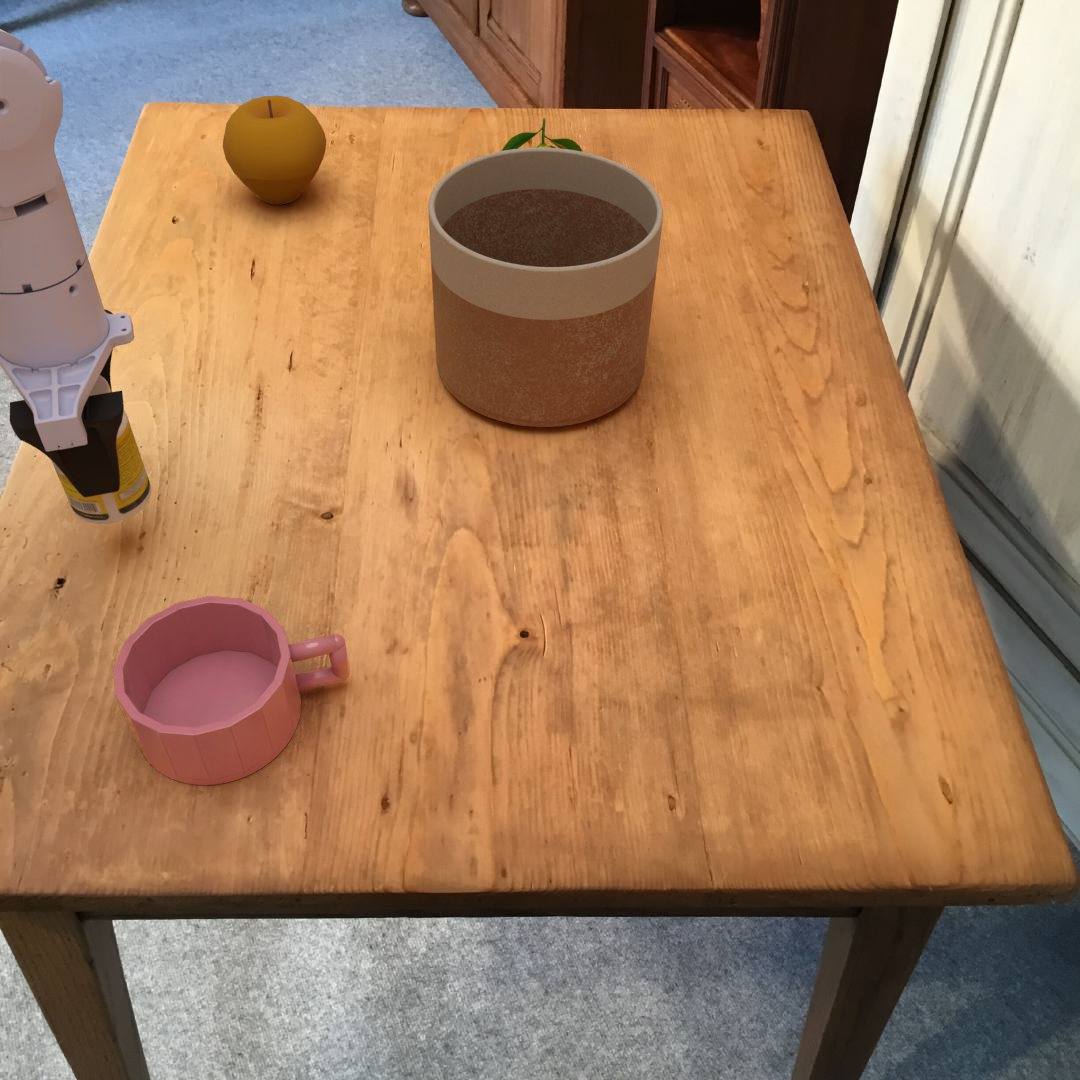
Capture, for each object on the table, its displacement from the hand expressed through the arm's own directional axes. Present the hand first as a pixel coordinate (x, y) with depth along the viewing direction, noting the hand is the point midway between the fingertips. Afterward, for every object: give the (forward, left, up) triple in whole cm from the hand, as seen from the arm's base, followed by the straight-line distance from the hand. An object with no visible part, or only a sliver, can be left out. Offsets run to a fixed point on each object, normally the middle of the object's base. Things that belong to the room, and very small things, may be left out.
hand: (99, 461), depth 64 cm
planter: (+31, +10, -7) cm, 33 cm away
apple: (+16, +40, -7) cm, 44 cm away
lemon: (+37, +29, -7) cm, 48 cm away
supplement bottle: (0, 0, -3) cm, 3 cm away
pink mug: (+6, -15, -7) cm, 17 cm away
